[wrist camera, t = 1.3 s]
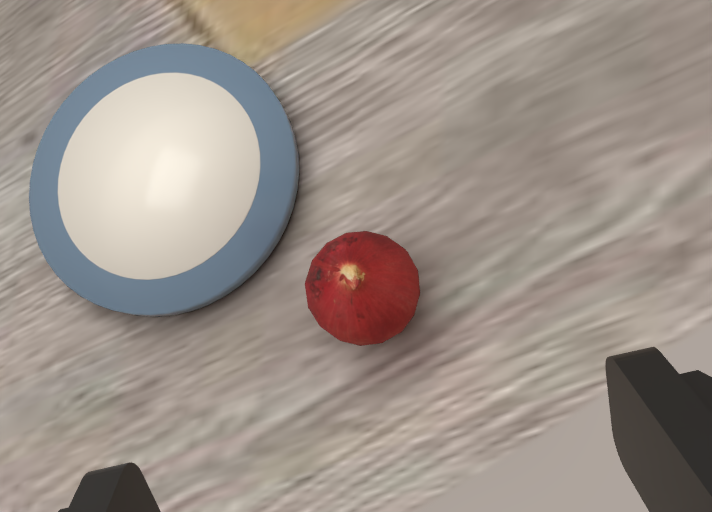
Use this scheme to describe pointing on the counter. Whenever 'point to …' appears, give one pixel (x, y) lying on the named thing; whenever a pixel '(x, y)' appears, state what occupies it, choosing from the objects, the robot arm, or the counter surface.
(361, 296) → the onion
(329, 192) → the counter surface
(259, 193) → the dish
